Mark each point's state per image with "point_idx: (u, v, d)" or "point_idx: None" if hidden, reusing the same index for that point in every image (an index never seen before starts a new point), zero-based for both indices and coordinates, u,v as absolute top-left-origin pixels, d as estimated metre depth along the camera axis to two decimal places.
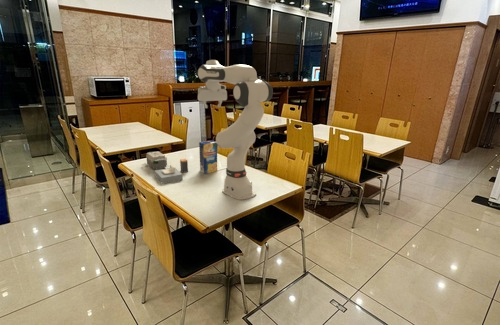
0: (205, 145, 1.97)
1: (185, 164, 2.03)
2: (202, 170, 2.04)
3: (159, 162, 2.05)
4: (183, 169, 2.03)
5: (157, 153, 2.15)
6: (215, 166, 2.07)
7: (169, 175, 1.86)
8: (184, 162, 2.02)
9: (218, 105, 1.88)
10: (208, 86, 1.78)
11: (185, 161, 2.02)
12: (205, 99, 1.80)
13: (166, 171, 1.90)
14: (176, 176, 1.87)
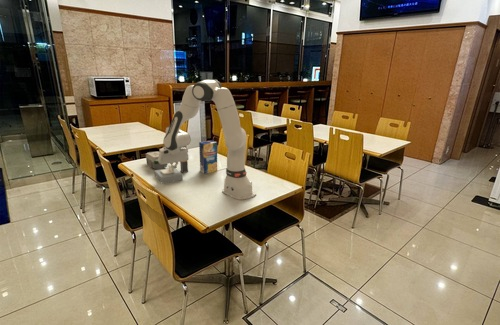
0: (205, 145, 1.97)
1: (185, 164, 2.03)
2: (202, 170, 2.04)
3: None
4: (183, 169, 2.03)
5: (157, 153, 2.15)
6: (215, 166, 2.07)
7: (169, 175, 1.86)
8: (184, 162, 2.02)
9: None
10: None
11: (185, 161, 2.02)
12: None
13: (165, 171, 1.90)
14: (176, 176, 1.87)
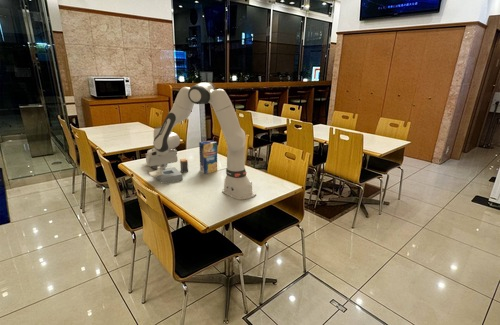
0: (205, 145, 1.97)
1: (185, 164, 2.03)
2: (202, 170, 2.04)
3: None
4: (183, 169, 2.03)
5: None
6: (215, 166, 2.07)
7: (169, 175, 1.86)
8: (184, 162, 2.02)
9: None
10: None
11: (185, 161, 2.02)
12: None
13: (153, 173, 1.85)
14: (176, 176, 1.87)
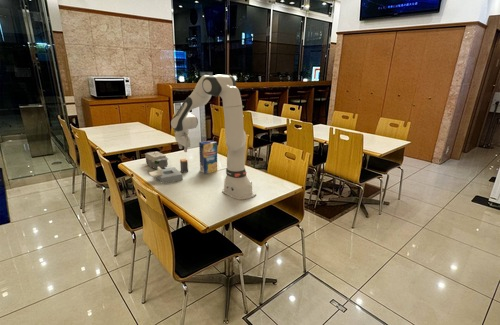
0: (205, 145, 1.97)
1: (185, 164, 2.03)
2: (202, 170, 2.04)
3: (160, 162, 2.06)
4: (183, 169, 2.03)
5: (157, 153, 2.15)
6: (215, 166, 2.07)
7: (169, 175, 1.86)
8: (184, 162, 2.02)
9: (181, 147, 2.04)
10: (187, 132, 1.94)
11: (185, 161, 2.02)
12: None
13: (153, 173, 1.85)
14: (176, 176, 1.87)
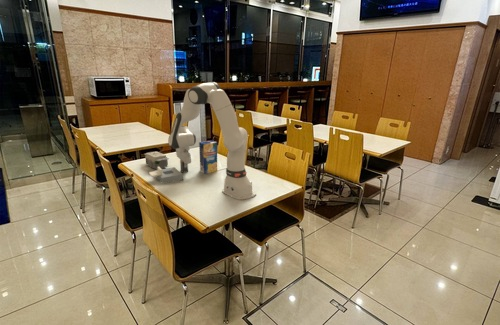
0: (205, 145, 1.97)
1: None
2: (202, 170, 2.04)
3: (160, 162, 2.06)
4: (183, 169, 2.03)
5: (156, 153, 2.15)
6: (215, 166, 2.07)
7: (169, 175, 1.86)
8: None
9: None
10: (187, 148, 1.98)
11: None
12: None
13: (153, 173, 1.85)
14: (176, 176, 1.87)
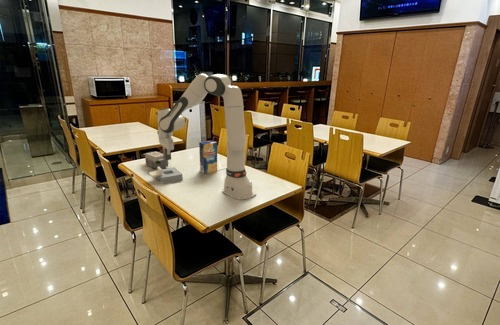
0: (205, 145, 1.97)
1: None
2: (202, 170, 2.04)
3: (161, 162, 2.06)
4: (166, 157, 1.86)
5: (156, 153, 2.15)
6: (215, 166, 2.07)
7: (169, 175, 1.86)
8: None
9: None
10: (170, 134, 1.81)
11: None
12: None
13: (153, 173, 1.85)
14: (176, 176, 1.87)
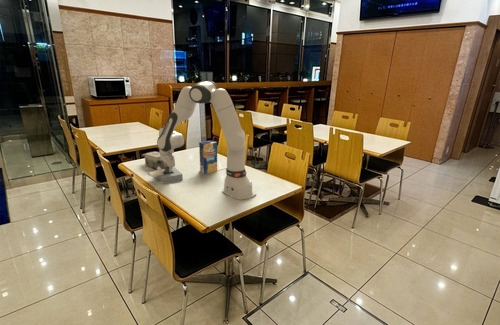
0: (205, 145, 1.97)
1: None
2: (202, 170, 2.04)
3: (162, 161, 2.07)
4: None
5: (156, 153, 2.15)
6: (215, 166, 2.07)
7: (169, 175, 1.86)
8: (168, 167, 1.88)
9: None
10: (171, 151, 1.85)
11: None
12: None
13: (153, 173, 1.85)
14: (176, 176, 1.87)
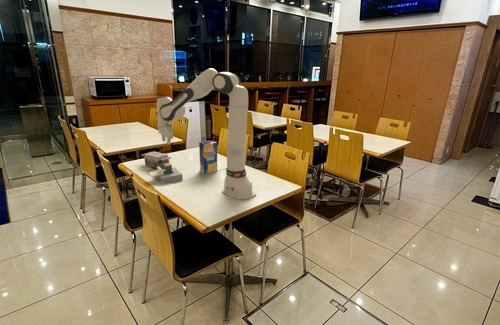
0: (205, 145, 1.97)
1: (169, 169, 1.89)
2: (202, 170, 2.04)
3: (163, 161, 2.07)
4: None
5: (156, 153, 2.15)
6: (215, 166, 2.07)
7: (169, 175, 1.86)
8: (168, 167, 1.88)
9: (165, 139, 1.88)
10: (169, 122, 1.79)
11: (169, 166, 1.89)
12: None
13: (153, 173, 1.85)
14: (176, 176, 1.87)
